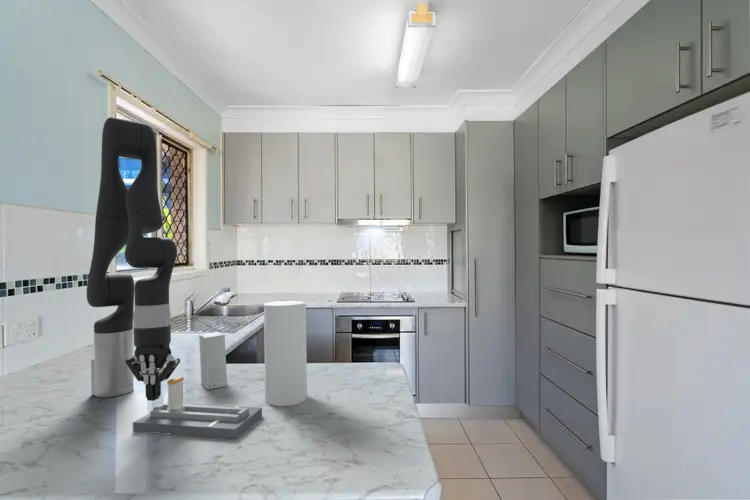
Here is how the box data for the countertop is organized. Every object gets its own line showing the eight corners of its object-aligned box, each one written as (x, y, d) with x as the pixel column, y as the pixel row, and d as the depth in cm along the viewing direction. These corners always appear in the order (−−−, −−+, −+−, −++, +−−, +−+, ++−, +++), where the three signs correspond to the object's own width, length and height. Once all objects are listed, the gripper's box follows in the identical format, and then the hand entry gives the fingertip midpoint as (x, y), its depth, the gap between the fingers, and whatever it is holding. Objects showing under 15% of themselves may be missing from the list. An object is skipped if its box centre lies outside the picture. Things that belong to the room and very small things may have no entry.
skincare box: (227, 386, 119) (226, 334, 119) (205, 390, 116) (204, 337, 116) (220, 379, 126) (219, 330, 126) (199, 383, 123) (198, 332, 123)
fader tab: (165, 415, 93) (164, 380, 93) (175, 409, 96) (174, 376, 96) (177, 415, 92) (176, 381, 92) (186, 410, 96) (186, 377, 96)
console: (132, 431, 89) (132, 415, 89) (170, 410, 101) (170, 396, 101) (235, 438, 85) (235, 422, 85) (262, 416, 97) (261, 401, 97)
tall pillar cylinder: (256, 403, 105) (255, 304, 106) (280, 390, 115) (279, 300, 115) (292, 408, 101) (291, 306, 102) (314, 394, 111) (313, 301, 112)
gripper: (114, 326, 93) (115, 404, 93) (166, 327, 90) (167, 407, 90) (139, 320, 100) (140, 392, 100) (188, 321, 98) (189, 395, 98)
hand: (153, 399), depth 95 cm, fingers closed
